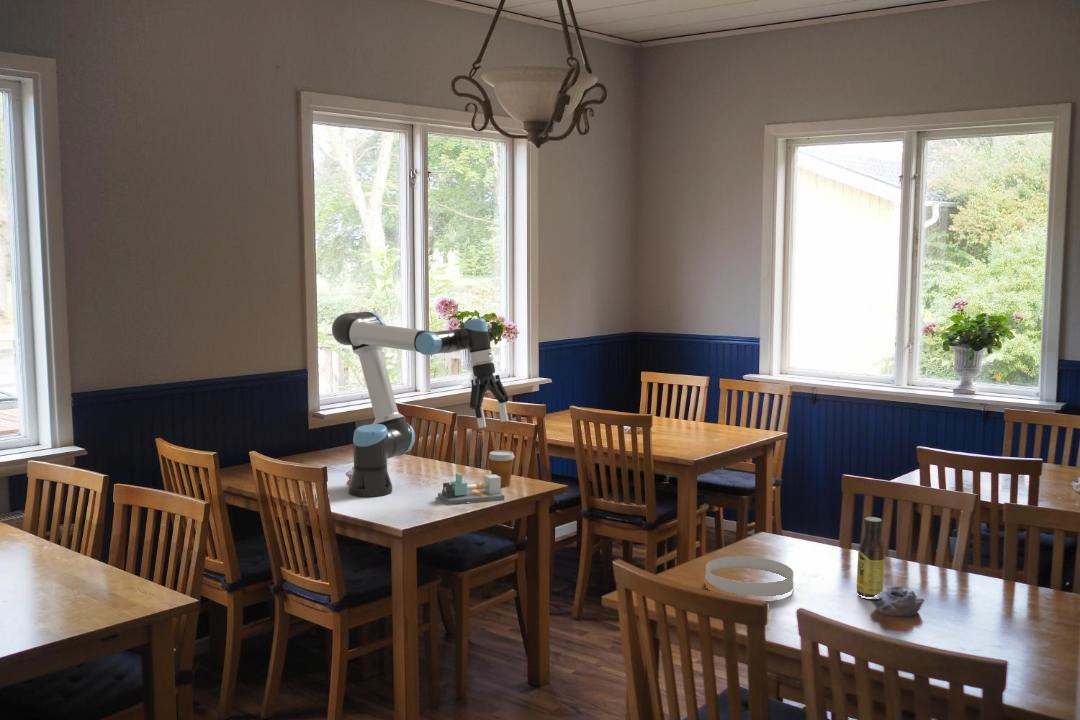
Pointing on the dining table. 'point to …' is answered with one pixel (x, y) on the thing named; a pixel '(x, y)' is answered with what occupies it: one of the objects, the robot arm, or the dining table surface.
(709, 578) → the ring
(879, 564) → the sauce bottle
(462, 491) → the sleeve
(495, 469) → the disposable coffee cup
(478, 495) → the cable board
